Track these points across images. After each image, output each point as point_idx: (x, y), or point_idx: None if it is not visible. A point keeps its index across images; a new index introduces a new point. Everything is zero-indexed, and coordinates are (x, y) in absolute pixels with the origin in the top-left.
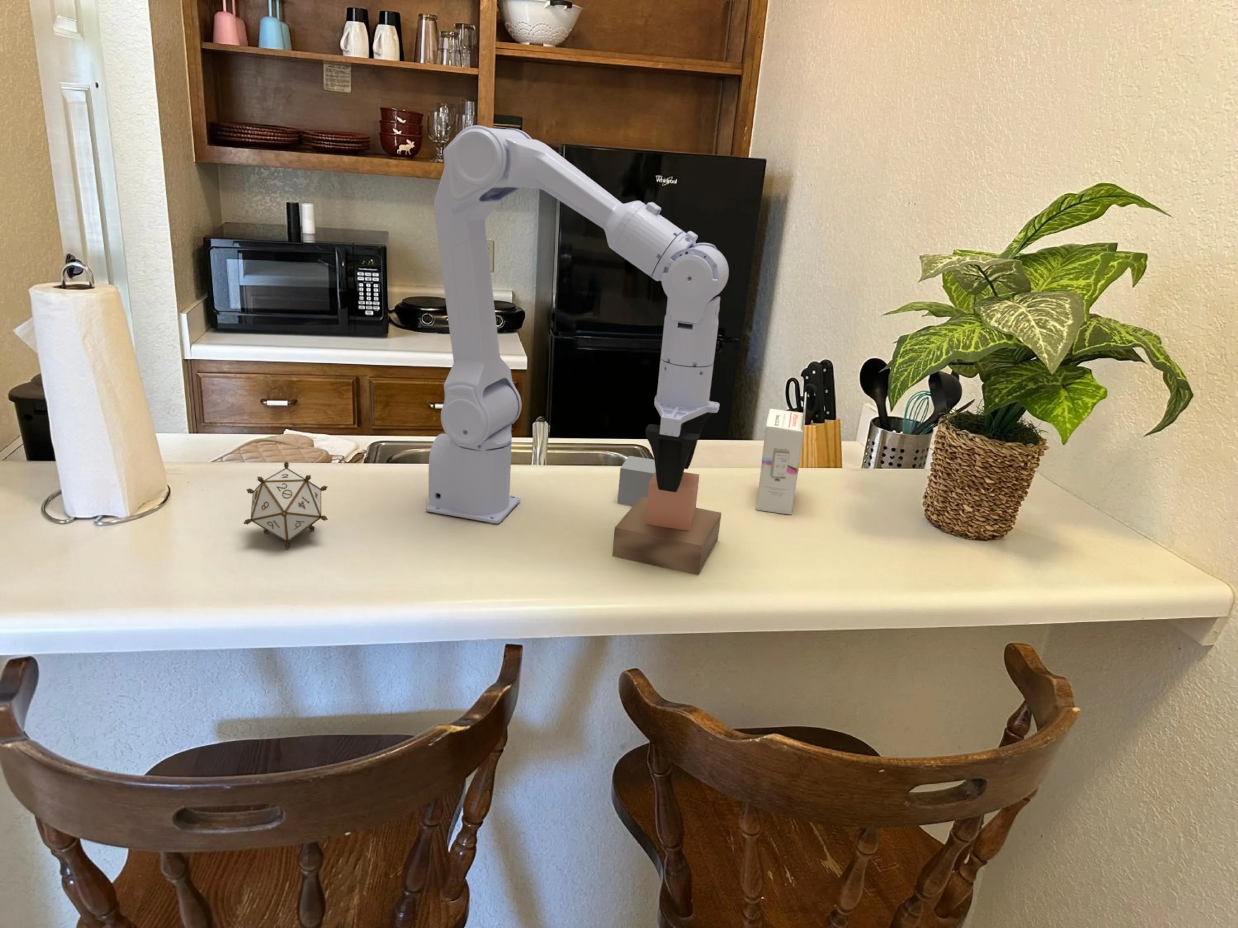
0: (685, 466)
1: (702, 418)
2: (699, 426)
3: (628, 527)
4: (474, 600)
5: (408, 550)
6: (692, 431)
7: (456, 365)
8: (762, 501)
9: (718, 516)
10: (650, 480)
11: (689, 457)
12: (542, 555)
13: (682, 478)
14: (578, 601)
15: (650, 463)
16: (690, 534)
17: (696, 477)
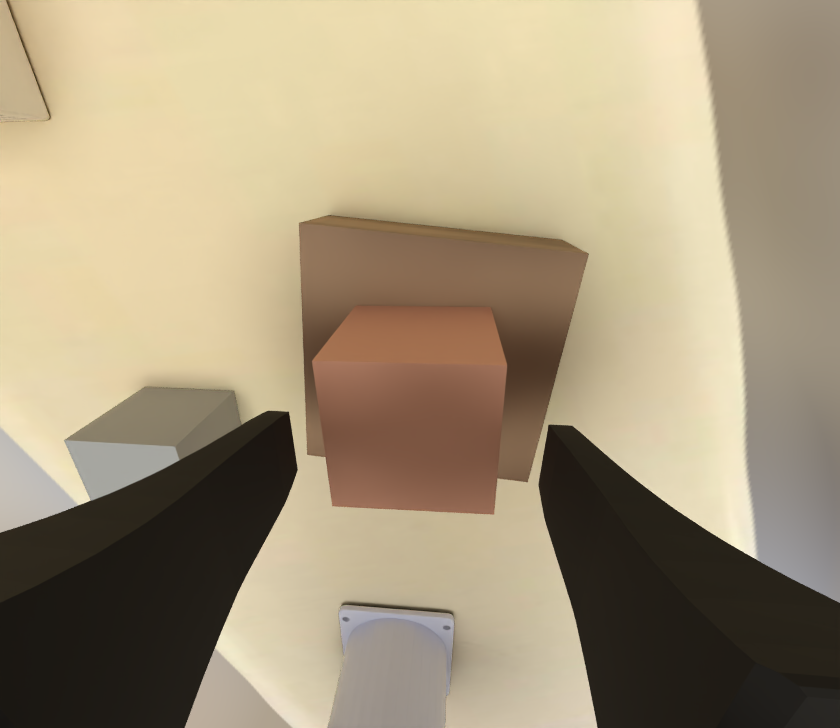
0: (286, 427)
1: (60, 616)
2: (128, 558)
3: (518, 455)
4: None
5: (584, 678)
6: (176, 553)
7: None
8: (11, 92)
9: (335, 229)
10: (467, 512)
11: (263, 442)
12: (550, 539)
13: (396, 418)
14: (734, 458)
15: (113, 474)
16: (514, 299)
17: (355, 368)
